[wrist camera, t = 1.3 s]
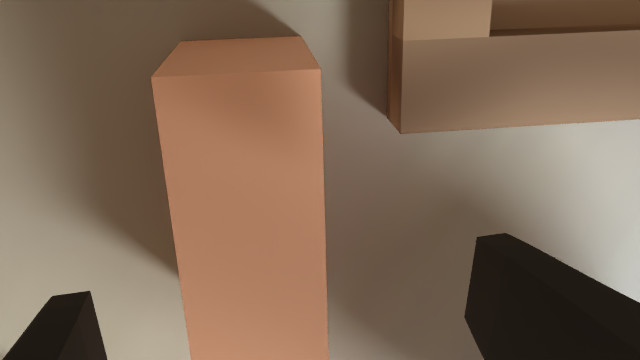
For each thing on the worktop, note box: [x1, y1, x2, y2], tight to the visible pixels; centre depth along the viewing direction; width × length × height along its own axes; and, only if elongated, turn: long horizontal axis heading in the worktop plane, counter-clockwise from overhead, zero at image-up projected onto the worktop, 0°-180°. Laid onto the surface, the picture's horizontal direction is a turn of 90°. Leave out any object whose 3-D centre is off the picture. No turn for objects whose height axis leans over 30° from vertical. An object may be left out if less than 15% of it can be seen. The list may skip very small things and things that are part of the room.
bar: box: [151, 36, 329, 360], centre depth 18 cm, size 10×4×6 cm, turn 1°
